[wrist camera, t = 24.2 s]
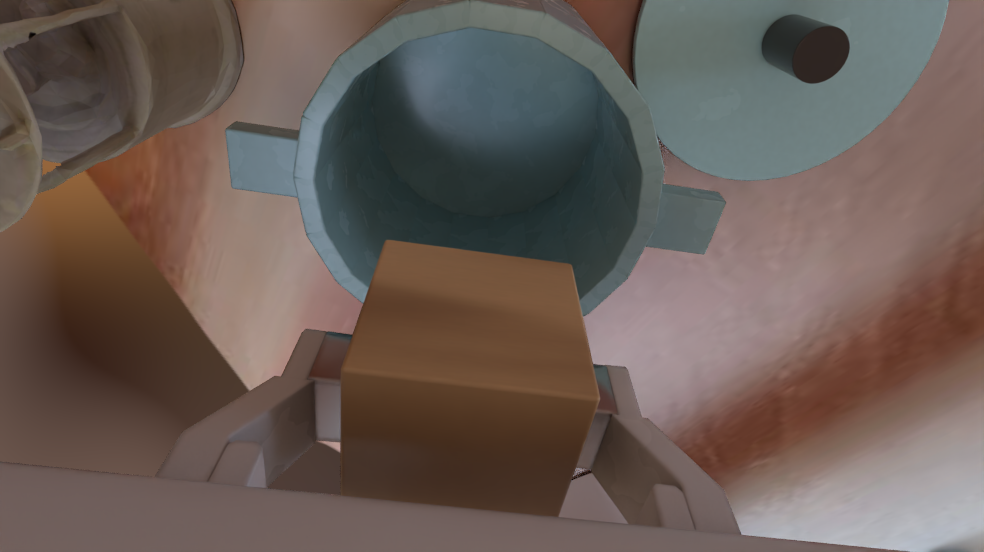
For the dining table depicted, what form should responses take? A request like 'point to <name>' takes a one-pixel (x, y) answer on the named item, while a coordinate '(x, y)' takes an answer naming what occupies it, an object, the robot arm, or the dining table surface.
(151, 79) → the lamp
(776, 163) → the pot lid
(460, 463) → the block
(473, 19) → the pot
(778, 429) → the dining table surface
